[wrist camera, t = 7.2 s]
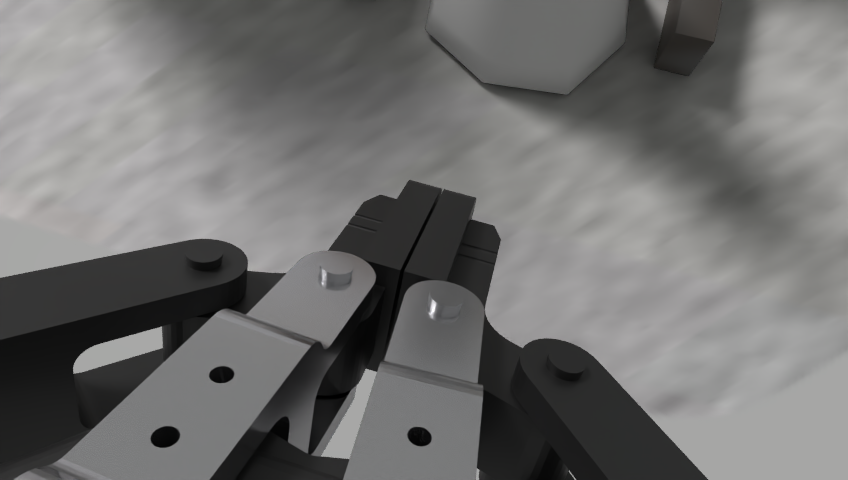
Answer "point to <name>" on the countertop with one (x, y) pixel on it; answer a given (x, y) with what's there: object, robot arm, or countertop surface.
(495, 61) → the flask
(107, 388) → the robot arm
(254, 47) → the countertop surface
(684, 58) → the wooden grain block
